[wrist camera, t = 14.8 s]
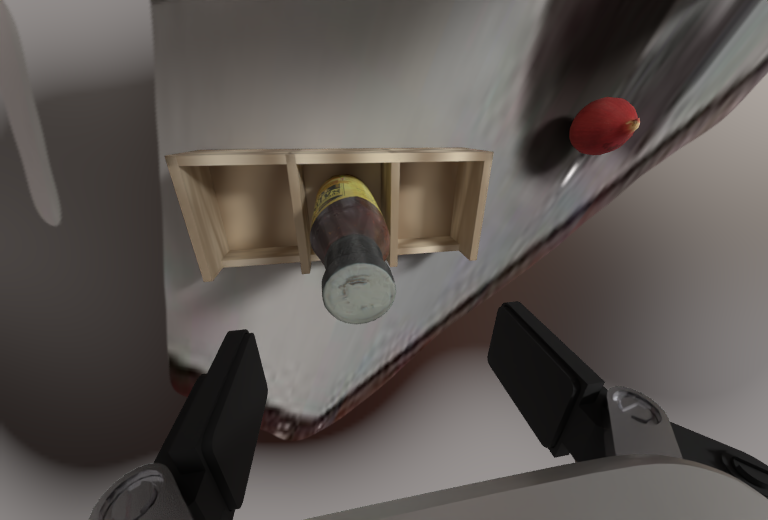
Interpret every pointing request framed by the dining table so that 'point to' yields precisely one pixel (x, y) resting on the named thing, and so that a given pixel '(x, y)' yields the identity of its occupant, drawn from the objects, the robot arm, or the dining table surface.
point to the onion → (603, 126)
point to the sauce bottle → (352, 251)
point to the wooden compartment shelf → (298, 196)
